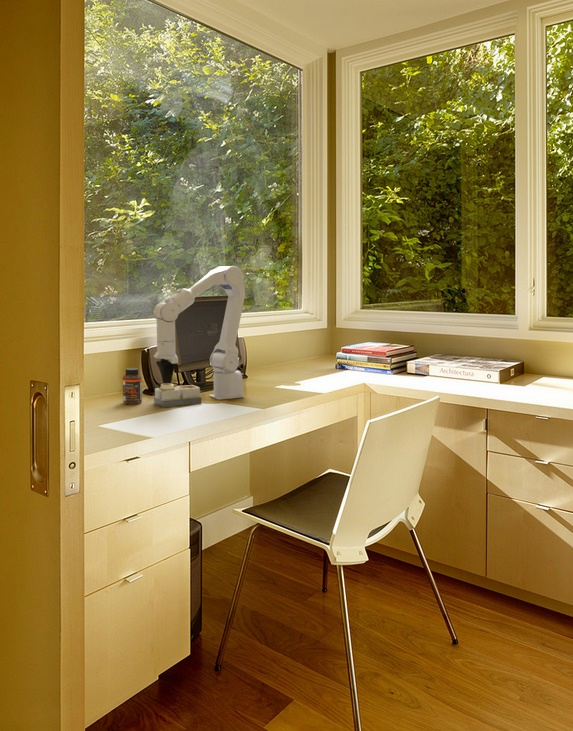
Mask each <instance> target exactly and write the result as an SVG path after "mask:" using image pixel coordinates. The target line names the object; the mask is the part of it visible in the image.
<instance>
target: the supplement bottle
mask: <svg viewBox="0 0 573 731" xmlns="http://www.w3.org/2000/svg"><path fill="white" fill-rule="evenodd" d="M142 378H143V377H142V376H141V375H140V373H139V368H137V367H128V368H125V375H123V376H122V403H123V404H125V405H130V406H131V405H139V404H142V401H143V393H142V392H143V391H142V390H143V389H142V388H143V387H142V386H143V384H142V382H143V381H142Z"/></svg>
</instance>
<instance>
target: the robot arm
mask: <svg viewBox="0 0 573 731" xmlns="http://www.w3.org/2000/svg"><path fill="white" fill-rule="evenodd" d="M244 278H245V274H244V273H243V271H242V270H241V269H240V267H238V266H236V265H230V266H222V265H220V266H219V265H218V266H217V267H215V268H213V269H211V270H209V272H208V273H207V274H205V275H204V276H203V277H201V278H200V280H197V281H196V282H195V283H194V284H193V285H192V286H191V287H189V288H183V287H182V288H178V289H177V290H176V291H175V292H176V293H174V294H173V295H171V296H170V297H166V298H165V299H164V302H159V303H158V304H156V305H155V307H154V309H153V311H152V314H153V317H154V318H155V320H156V349H157V350H156V351H155V354H153V358H155V359H160V360H158V361H156V362H155V363H156V366H157V367H158V369H159V372H160V376H161V379H162V384H168V383H171V384H172V380H173V375H174V371H175V369H176V367H177V365H178V364H179V357H178V356H177V353H176V351H177V350H176V320H177V319H178V317H179V314H180V313H182V312H183V311H185V310H186V309H187V308H189V307H190V306H191V305H193V304H194V303H195V300H196V299H195V298H196V297H198V296H199V295H201V294H202V293H204V292H205V291H207V290H209V289H210V288H211V287H213V286H219V287H220V288H221V289H223V290H224V292H225V293H226V295H227V302H226V306H225V312H224V318H223V322H222V327H221V332H220V337H219V341H218V342H217V343H216V345H215V346H214V349H213V351H212V353H211V354H210V356H209V364H210V365H211V368H213V369H212V370H213V394H212V393H211V394H209V397H210V398H213V399H216V400H218V401H221V400H230V399H239V398H245V396H244V390H243V389H244V387H243V386H244V384H243V383H244V382H243V381H244V378H243V373H242V372H241V371H240V370H237V369H238V367H239V363H240V360H239V348H238V347H237V346H236V345H237V344H236V343H237V339H238V338H237V337H238V331H239V328H240V322H241V317H242V313H243V309H244V304H245V303H244V302H245V297H246V288H245V284H244Z"/></svg>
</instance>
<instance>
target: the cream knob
mask: <svg viewBox="0 0 573 731" xmlns="http://www.w3.org/2000/svg"><path fill="white" fill-rule="evenodd" d="M160 388H161V390H162V391H168V390H174V388H175V387H174V384H173V383H172V382H171V383H168V384H164V383H161V384H160Z"/></svg>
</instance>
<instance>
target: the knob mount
mask: <svg viewBox="0 0 573 731" xmlns="http://www.w3.org/2000/svg"><path fill="white" fill-rule="evenodd" d="M153 403H154V404H155V405H157V406H159V407H161V408H172V407H180V406H189V405H199V404H200V405H201V404H202V397H201V387H199V386H197V385H194V384H190V385H188V384H187V385H178V386H175V387H174V390H168V391H162V390H161V387H157V388H154V397H153Z"/></svg>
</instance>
